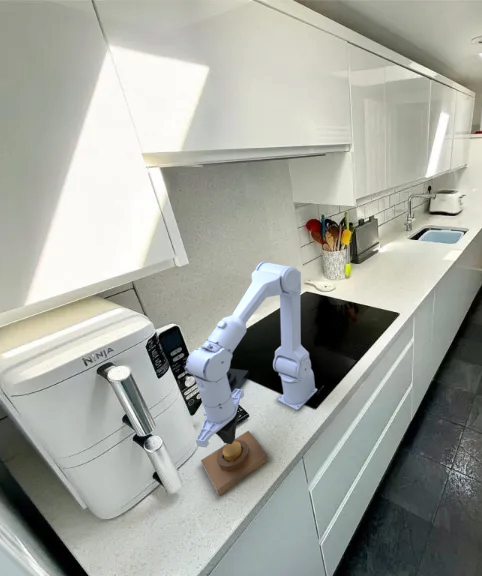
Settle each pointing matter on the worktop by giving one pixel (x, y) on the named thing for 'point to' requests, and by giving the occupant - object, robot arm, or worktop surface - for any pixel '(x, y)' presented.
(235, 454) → the brass button
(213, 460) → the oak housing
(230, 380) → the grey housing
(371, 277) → the worktop surface
